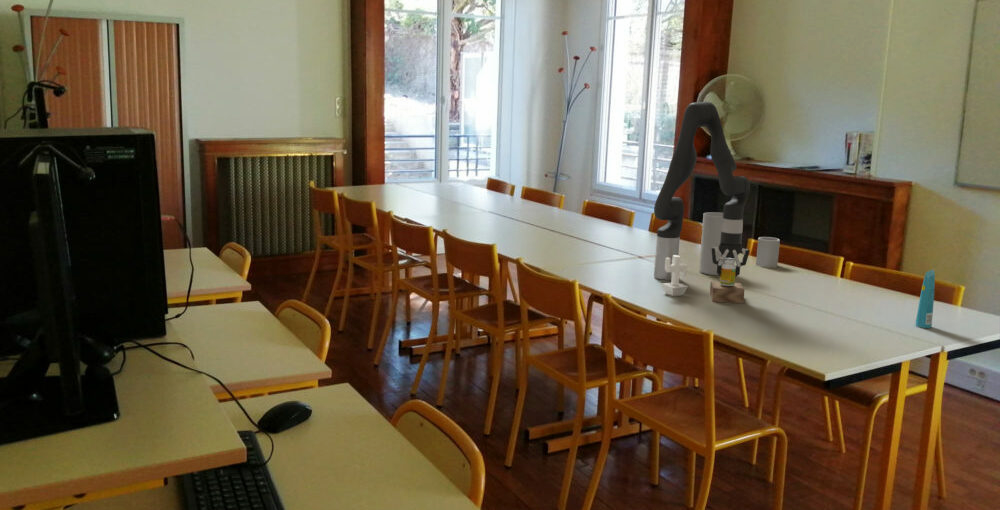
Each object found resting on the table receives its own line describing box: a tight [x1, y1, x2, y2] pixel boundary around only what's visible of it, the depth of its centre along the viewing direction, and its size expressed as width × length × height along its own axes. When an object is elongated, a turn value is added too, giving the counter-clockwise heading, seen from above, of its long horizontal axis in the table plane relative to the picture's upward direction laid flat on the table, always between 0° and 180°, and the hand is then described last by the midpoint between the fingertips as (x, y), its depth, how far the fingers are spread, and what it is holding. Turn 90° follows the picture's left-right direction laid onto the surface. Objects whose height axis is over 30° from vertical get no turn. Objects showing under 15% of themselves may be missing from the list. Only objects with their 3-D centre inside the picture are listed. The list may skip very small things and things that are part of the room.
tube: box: [915, 269, 936, 329], centre depth 277 cm, size 7×5×19 cm, turn 140°
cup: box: [755, 236, 781, 269], centre depth 370 cm, size 9×9×12 cm
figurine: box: [661, 255, 689, 297], centre depth 313 cm, size 7×9×15 cm
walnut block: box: [709, 281, 745, 304], centre depth 309 cm, size 11×11×5 cm
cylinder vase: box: [698, 211, 724, 277], centre depth 351 cm, size 12×12×25 cm
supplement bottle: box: [719, 258, 736, 286], centre depth 307 cm, size 5×5×10 cm
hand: (727, 275), depth 308 cm, fingers closed on supplement bottle, 5 cm apart
